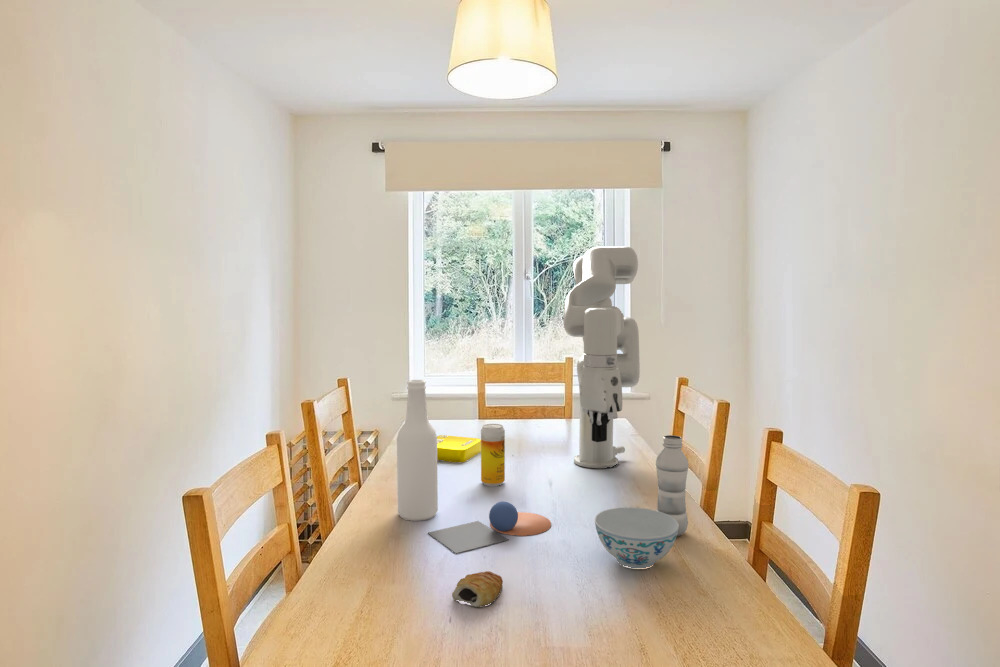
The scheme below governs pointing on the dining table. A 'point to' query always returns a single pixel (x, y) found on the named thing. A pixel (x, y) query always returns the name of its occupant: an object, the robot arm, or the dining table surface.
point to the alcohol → (417, 459)
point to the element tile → (457, 448)
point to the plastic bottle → (672, 481)
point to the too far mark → (467, 537)
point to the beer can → (492, 454)
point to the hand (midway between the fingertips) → (599, 440)
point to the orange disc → (528, 525)
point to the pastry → (478, 588)
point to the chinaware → (636, 535)
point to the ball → (503, 516)
